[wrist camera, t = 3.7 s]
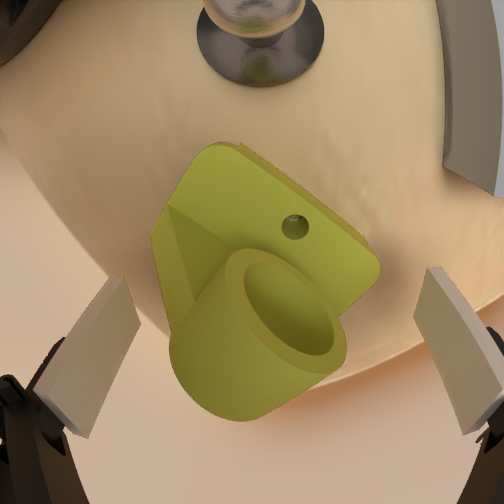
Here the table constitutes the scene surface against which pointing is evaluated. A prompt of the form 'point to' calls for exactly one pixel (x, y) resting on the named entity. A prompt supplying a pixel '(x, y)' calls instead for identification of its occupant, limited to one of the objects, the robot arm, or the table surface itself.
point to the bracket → (254, 283)
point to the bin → (474, 90)
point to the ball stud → (260, 38)
